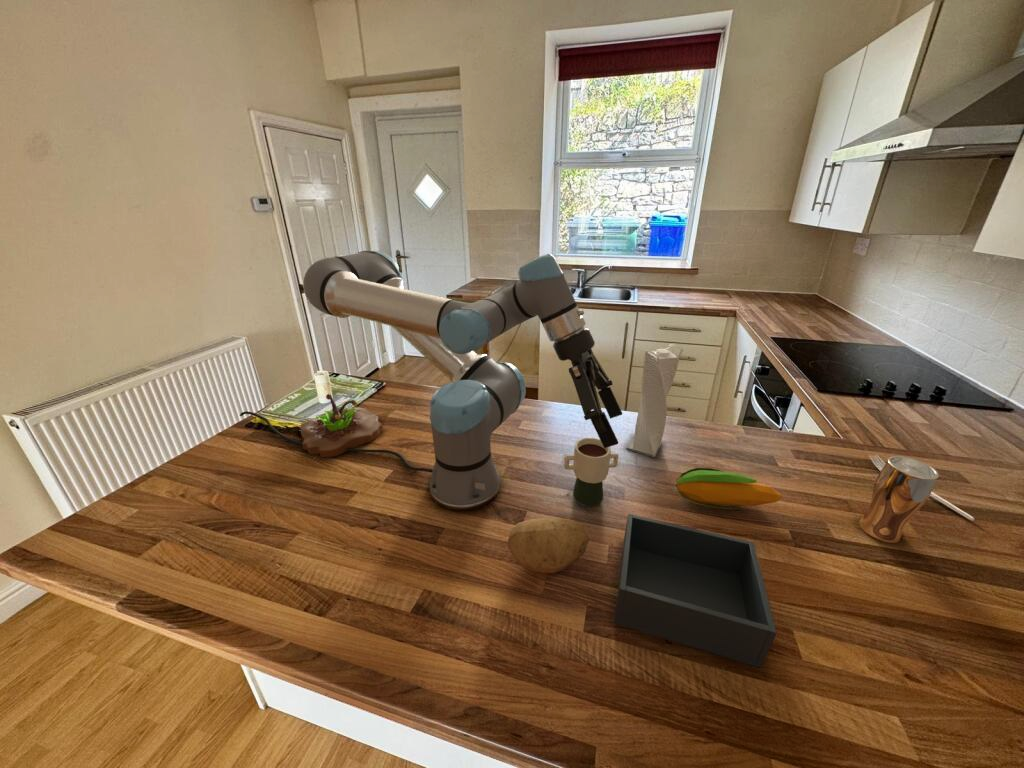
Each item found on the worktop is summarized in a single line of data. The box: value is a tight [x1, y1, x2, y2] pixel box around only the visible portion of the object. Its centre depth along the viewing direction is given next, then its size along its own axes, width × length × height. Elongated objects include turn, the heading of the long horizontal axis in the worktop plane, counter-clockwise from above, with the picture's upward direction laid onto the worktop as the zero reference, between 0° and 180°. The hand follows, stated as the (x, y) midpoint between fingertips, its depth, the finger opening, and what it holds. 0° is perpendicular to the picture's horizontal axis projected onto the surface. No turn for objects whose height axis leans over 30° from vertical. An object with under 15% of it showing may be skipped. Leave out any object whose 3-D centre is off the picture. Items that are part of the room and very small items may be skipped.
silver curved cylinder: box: [858, 455, 940, 544], centre depth 73 cm, size 7×7×15 cm
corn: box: [675, 467, 783, 510], centre depth 82 cm, size 7×8×20 cm
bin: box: [613, 513, 777, 669], centre depth 62 cm, size 20×16×8 cm
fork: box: [869, 454, 975, 522], centre depth 86 cm, size 3×20×2 cm, turn 12°
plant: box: [299, 393, 384, 458], centre depth 105 cm, size 20×20×11 cm
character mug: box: [563, 437, 619, 508], centre depth 82 cm, size 11×7×13 cm, turn 94°
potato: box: [507, 517, 591, 574], centre depth 69 cm, size 10×14×8 cm
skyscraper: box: [625, 343, 684, 459], centre depth 95 cm, size 8×8×28 cm
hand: (614, 429), depth 80 cm, fingers open, 13 cm apart
